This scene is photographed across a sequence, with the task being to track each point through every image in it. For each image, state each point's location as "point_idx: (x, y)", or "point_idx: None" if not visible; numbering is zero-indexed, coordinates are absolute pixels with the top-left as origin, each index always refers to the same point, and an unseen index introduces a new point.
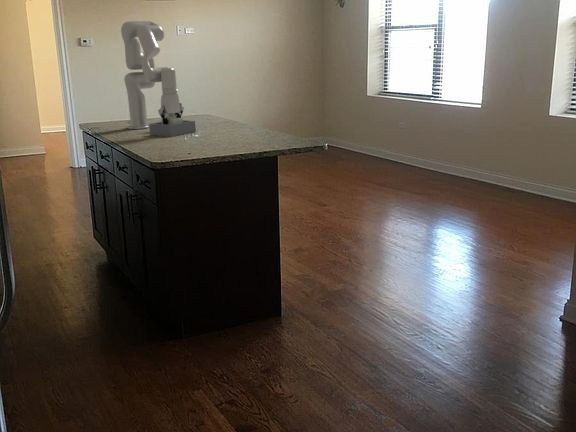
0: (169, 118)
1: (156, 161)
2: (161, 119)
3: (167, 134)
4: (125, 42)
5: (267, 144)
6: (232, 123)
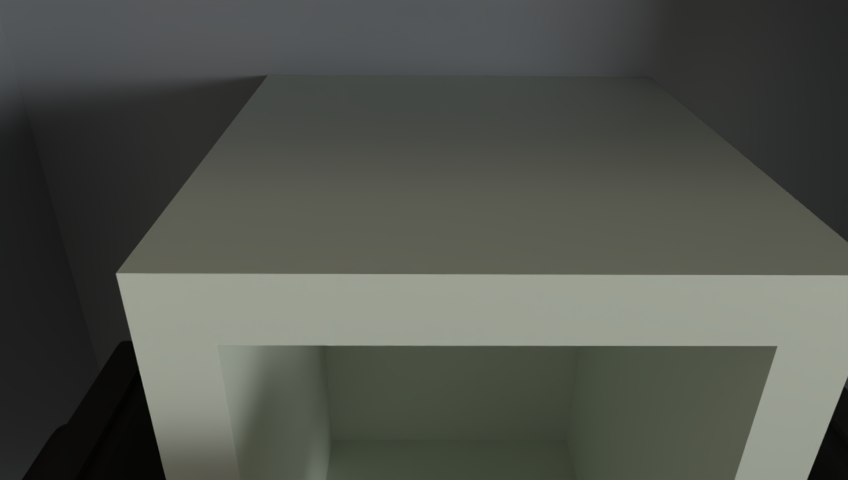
0: (659, 326)
1: None
2: (127, 276)
3: None
4: None
5: None
6: None
